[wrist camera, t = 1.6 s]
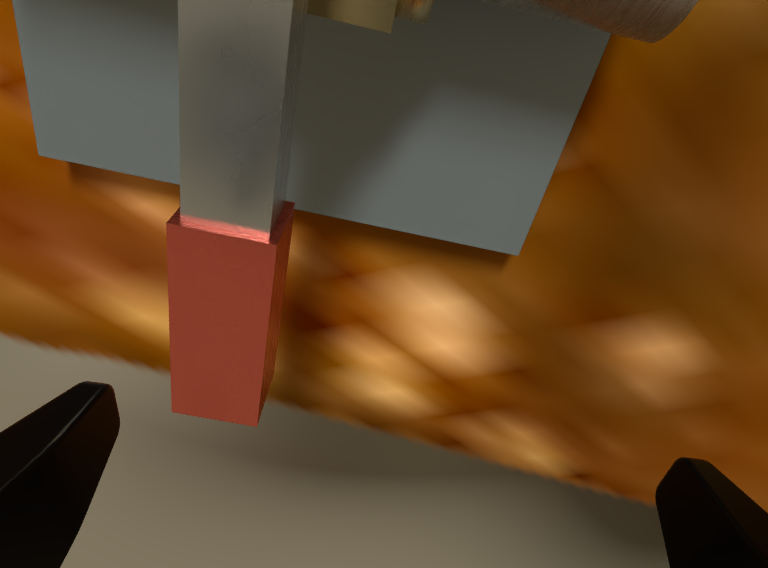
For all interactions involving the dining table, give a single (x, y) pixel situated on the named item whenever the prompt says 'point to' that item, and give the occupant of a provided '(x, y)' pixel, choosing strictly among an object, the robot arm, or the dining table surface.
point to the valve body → (564, 3)
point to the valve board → (338, 108)
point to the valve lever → (232, 201)
